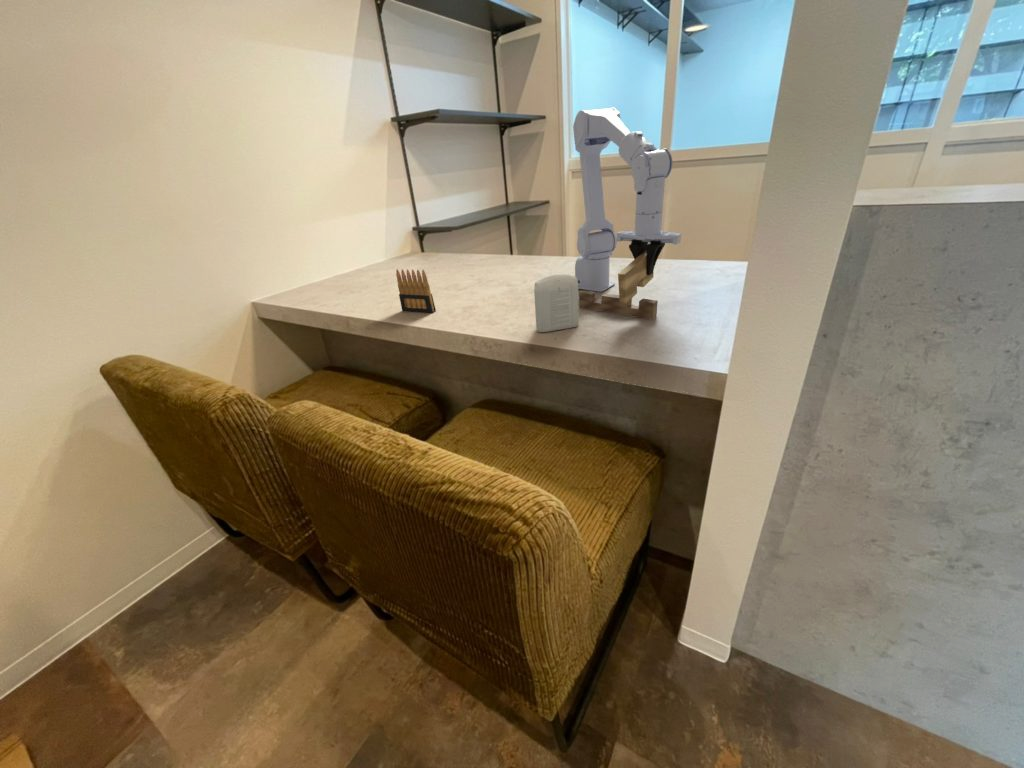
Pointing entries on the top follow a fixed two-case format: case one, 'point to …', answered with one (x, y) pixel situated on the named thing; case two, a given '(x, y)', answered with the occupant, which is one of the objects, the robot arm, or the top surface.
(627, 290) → the crossbar
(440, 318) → the top surface
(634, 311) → the slotted beam
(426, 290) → the ammunition clip
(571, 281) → the miniature gravestone
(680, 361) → the top surface
